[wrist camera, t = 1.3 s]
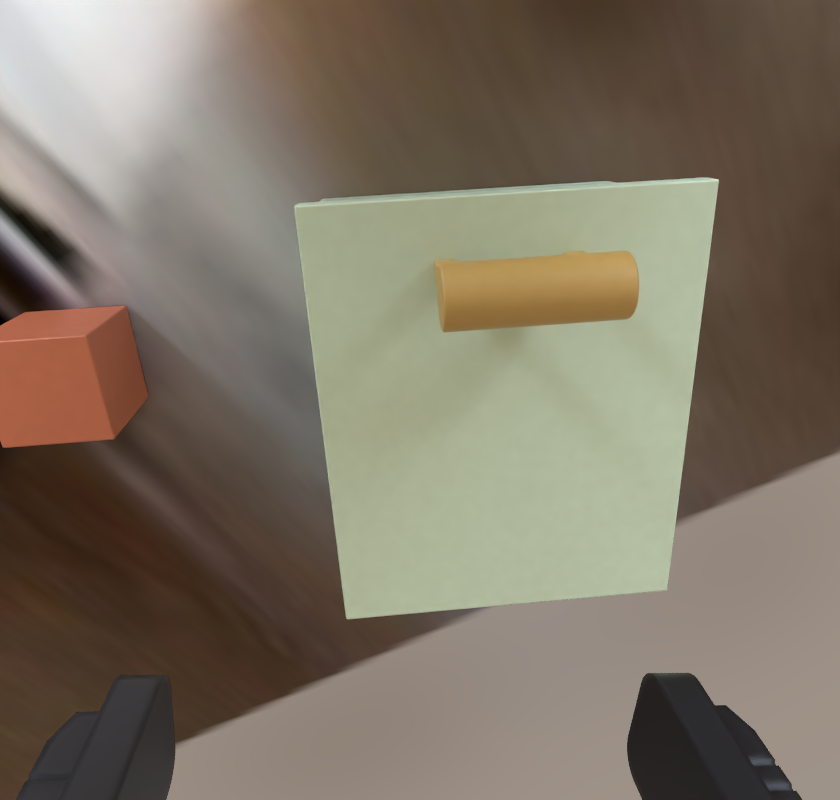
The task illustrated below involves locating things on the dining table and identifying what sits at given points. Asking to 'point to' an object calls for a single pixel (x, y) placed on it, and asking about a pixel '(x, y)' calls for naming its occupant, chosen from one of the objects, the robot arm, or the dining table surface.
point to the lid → (505, 387)
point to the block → (68, 376)
